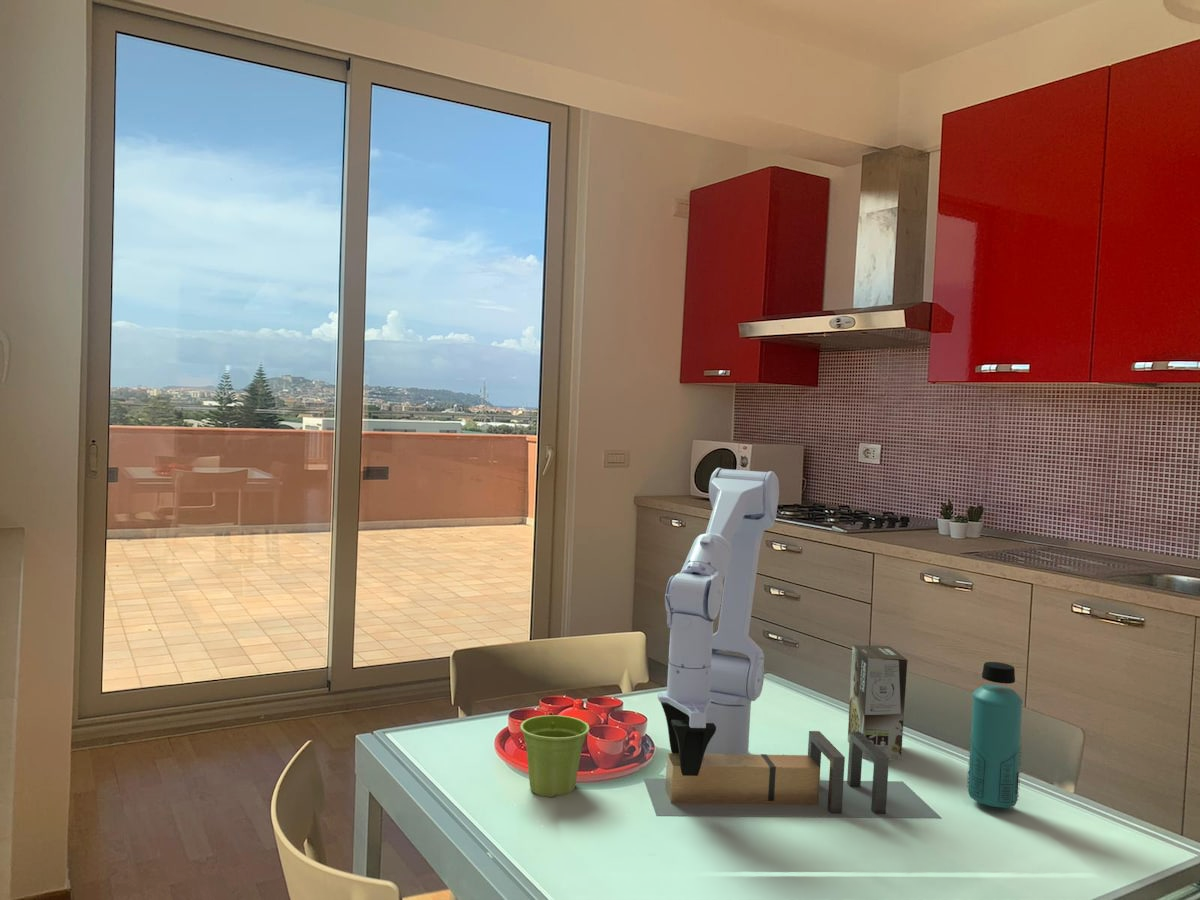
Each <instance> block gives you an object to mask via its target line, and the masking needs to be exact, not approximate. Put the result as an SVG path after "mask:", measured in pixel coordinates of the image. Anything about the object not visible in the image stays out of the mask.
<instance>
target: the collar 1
mask: <svg viewBox="0 0 1200 900" xmlns="http://www.w3.org/2000/svg"><path fill="white" fill-rule="evenodd" d="M807 744H808V746H807V755H809V756H810V757H811V758H812V759H813V760H814V761H815V763H816V764H817V765H818V766H819V767H820V768H821V762H822V754H823V755H824V756H825V758H827V760H828V761H829V773H828V774H829V777H828V780H829V790H828V807H827V810H828V811H829V812H830V814H842V799H843V782H844V781H845V779H844V778H845V765H846V764H845V761H846V757H845V756H844V755H843V753H841V751H840V750H838V749H837V747H835V745H834V744H833V743H831V742H830V740H829V739H828V738H827V737H826V736H825V735H824V734H823V733H822V732H821V731H820V730H809V731H808V743H807ZM819 782H820V780H819Z"/></svg>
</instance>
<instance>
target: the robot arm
mask: <svg viewBox="0 0 1200 900" xmlns="http://www.w3.org/2000/svg"><path fill="white" fill-rule="evenodd" d="M708 496H709V502H710V505H711V509H712V511H711V514H710V518H709V520H708V521H709V522H708V524H707V528H706V530H705V533H702V534H699V535H697V536H696V538H695V539H694V541H693V543H692V545H691V548H690V550H689V552H688V554H687V556H686V559H685V561H684V563H683V566H682V568H681V570H680V572H678V573H676V574H675V575H671V576H670V577H669V579H668V582H667V583H666V584H667V585H666V589H665V595H664V605H665V610H666V625H667V628H669V629H670V630H669V645H668V665H667V666H668V667H667V681H666V682H667V684H666V692H659V693H657V700H658V701H659V702H660V705H661V707H662V709H663V713H664V716H665V720H666V724H667V731H668V739H669V746H670V753H679V760H680V768H681V773H682V775H683V776H698V773H699V771H700V767H701V764H702V760H703V757H704V754H751V752H750V750H749V746H750V745H749V744H750V727H751V708H752V702H755V701H756V700H757V699H758V698H760V696H761V694H762V691H763V687H764V679H765V667H764V665H765V663H764V662H765V654H764V651H763V649H762V648H761V647H760V645H759V644H757V643H756V642H755V641H754V640H753V638H751V636H750V635H749V634H750V626H751V620H752V611H753V604H754V594H755V589H756V581H757V580H756V579H757V571H758V567H759V565H758V564H759V558H760V557H759V556H760V549H761V542H762V540H763V535H764V531H766V530H768V529H771V528H773V527H774V526H775V521H776V519H777V514H778V513H777V511H778V505H779V497H780V483H779V478H778V476H777V474H776V473H775V472H774V471H771V470H769V471H757V470H743V469H741V470H739V469H728V468H722V467H716V469H715V470H714V471H713V472H712V473H711V476H710V479H709V484H708ZM723 582H724V583H723ZM719 612H720V613H719ZM718 615H719V620H718V627H717V631H716V632H714V622H715V621H714V620H715V619H716V618H717V616H718ZM718 652H728V653H732V654H733V653H734V654H739V655H746V656H747V657H742V656H738V655H730V654H724V653H718Z"/></svg>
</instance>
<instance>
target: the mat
mask: <svg viewBox="0 0 1200 900" xmlns="http://www.w3.org/2000/svg"><path fill="white" fill-rule="evenodd" d="M643 781H644V784H645V787H646V790H647V792H648V793H647V794H648V795H649V798H650V801H651V804H652V807H653V810H654V813H655V816H656V817H711V818H712V817H724V818H725V817H727V818H728V817H731V818H733V817H735V818H736V817H737V818H738V817H739V818H742V817H743V818H826V819H827V818H833V819H834V818H836V819H837V818H840V819H841V818H843V819H845V818H847V819H848V818H849V819H850V818H851V819H852V818H853V819H854V818H855V819H856V818H857V819H861V818H862V819H943V818H942V816H940V815H939V814H938V813H937V812H936V811H935V810H934V809H933V808H932V807H931V806H930V805H929V804H928V803H926V802H925V801H924V800H923V799H922V798H921V796H919V795H918V794H917V793H916V792H915V791H914V790H913V789H912V788H910V787H909V785H907V784H906V783H905V782H904V781H902V780H901V781H897V780H895V781H894V780H893V781H891V780H890V781H889V780H888V783H887V800H886V814H874V813H873V812H872V811H871V803H872V786H873V780H861V785H860V787H850V786H849V785H848V784H847V780H844V782H843V799H842V814H830V812H829V811H828V810H827V807H828V790H829V779H828V780H824V779H823V780H820V782H819V797H818V805H792V804H694V803H671V802H670V800H669V797H668V795H667V792H666V790H665V785H666V777H665V778H661V777H660V778H659V777H658V778H656V777H655V778H654V777H643Z"/></svg>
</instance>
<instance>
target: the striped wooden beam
mask: <svg viewBox="0 0 1200 900" xmlns="http://www.w3.org/2000/svg"><path fill="white" fill-rule="evenodd" d="M665 767H666V769H665V770H666V771H665V772H666V773H665V778H666V785H665V790H666V792H667V795H668V797H669V800H670V802H671V803H694V804H792V805H818V797H819V780H820V779H821V766H820V767H819V766H818V765H817V764H816V763H815V761H814V760H813V759H812V758H811V757H810V756H809V755H808V754H807V755H806V754H805V755H804V754H803V755H802V754H800V755H799V754H766V753H765V754H764V753H761V754H752V753H750V754H704V757H703V760H702V764H701V767H700V771H699V773H698V776H683V775H682V773H681V768H680V760H679V753H672V752H670V753H669V752H667V753H666V766H665Z"/></svg>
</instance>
